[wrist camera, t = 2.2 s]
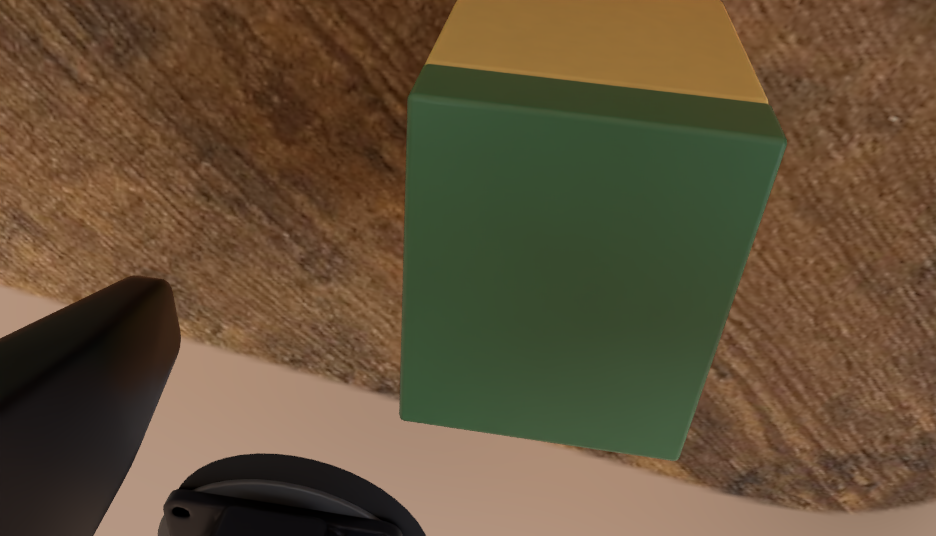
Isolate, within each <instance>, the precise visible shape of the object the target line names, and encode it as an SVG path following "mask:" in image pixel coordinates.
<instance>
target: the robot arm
mask: <svg viewBox="0 0 936 536" xmlns="http://www.w3.org/2000/svg"><path fill="white" fill-rule="evenodd" d="M180 342H181V334H180V328H179V322H178V317H177V312H176V307H175V302H174V296H173V291H172V288H171V286H170V284H169V283H168V282H167V281H165V280H163V279H159V278H152V277H145V276H129V277H127V278H125V279H123V280H120V281H118V282H116V283H114V284H112V285H110V286H108V287H106V288H104V289H102V290H100V291H98V292H96V293H94V294H91V295H89V296H87V297H85V298H83V299H81V300H79V301H77V302H75V303H73V304H71V305H69V306H67V307H64V308H63V309H60V310H58V311H56V312H54V313H52V314H50V315H48V316H46V317H44V318H42V319H40V320H38V321H36V322H34V323H31V324H29V325H27V326H25V327H23V328H21V329H19V330H17V331H15V332H13V333H11V334H9V335H6V336H5V337H2V338H0V536H93V535H94V533H95V531H96V529H97V528H98V526H99V524H100V522H101V521H102V519H103V517H104V515H105V513H106V512H107V510H108V508H109V506H110V504H111V503H112V501H113V499H114V497H115V495H116V493H117V492H118V490H119V488H120V486H121V484H122V483H123V481H124V479H125V477H126V475H127V473H128V471H129V469H130V467H131V465H132V463H133V461H134V459H135V456H136V454H137V452H138V449H139V447H140V445H141V443H142V440H143V438H144V435H145V432H146V430H147V428H148V425H149V423H150V421H151V418H152V416H153V413H154V411H155V408H156V406H157V404H158V401H159V399H160V396H161V394H162V392H163V389H164V387H165V384H166V382H167V379H168V377H169V374H170V372H171V370H172V367H173V365H174V362H175V360H176V358H177V355H178V352H179V348H180ZM163 510H164V514H165V518H166V522H167V526H168V530H169V534H170V536H402V533H401V530H400V529H399V528H398V527H397V526H396V525H394V524H392V523H390V522H386V521H381V520H375V519H369V518H362V517H356V516H350V515H344V514H337V513H331V512H325V511H318V510H312V509H306V508H300V507H293V506H287V505H281V504H274V503H268V502H262V501H256V500H249V499H243V498H237V497H230V496H224V495H218V494H212V493H205V492H199V491H193V490H187V489H177V490H174V491H172V493H171V494H170V495H169V497H168V499H167V501H166V503H165V504H164V509H163Z"/></svg>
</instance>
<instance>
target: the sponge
mask: <svg viewBox="0 0 936 536" xmlns="http://www.w3.org/2000/svg"><path fill="white" fill-rule="evenodd" d="M786 146H787V139H786V137H785V134H784V132H783V130H782V128H781V126H780V124H779V122H778V119H777V117H776V115H775V113H774V111H773V109H772V106H770V105H769V104H768V99H767V97H766V95H765V93H764V91H763V88H762V86H761V84H760V82H759V80H758V78H757V75H756V73H755V71H754V69H753V67H752V65H751V62H750V60H749V58H748V56H747V54H746V52H745V49H744V47H743V45H742V43H741V41H740V39H739V36H738V34H737V32H736V30H735V28H734V26H733V23H732V21H731V19H730V17H729V15H728V13H727V10H726V8H725V6H724V4H723V2H721V1H719V0H457V1H456V3H455V5H454V7H453V9H452V11H451V13H450V15H449V17H448V19H447V21H446V23H445V25H444V27H443V29H442V31H441V33H440V35H439V37H438V39H437V41H436V43H435V45H434V47H433V49H432V51H431V53H430V55H429V57H428V59H427V61H426V63H425V65H424V66H423V68H422V70H421V72H420V74H419V76H418V78H417V80H416V82H415V84H414V86H413V88H412V90H411V92H410V94H409V96H408V99H407V138H406V177H405V216H404V254H403V293H402V332H401V371H400V410H399V411H400V412H399V414H400V418H401V419H402V420H404V421H411V422H417V423H424V424H430V425H437V426H444V427H450V428H457V429H464V430H470V431H478V432H484V433H491V434H497V435H504V436H510V437H517V438H524V439H530V440H537V441H544V442H550V443H557V444H564V445H570V446H577V447H584V448H590V449H597V450H604V451H610V452H617V453H624V454H630V455H637V456H644V457H650V458H657V459H664V460H670V461H676V460H678V459H679V457H680V454H681V451H682V448H683V445H684V442H685V439H686V437H687V434H688V431H689V428H690V425H691V422H692V419H693V416H694V413H695V410H696V407H697V405H698V402H699V399H700V396H701V393H702V390H703V387H704V384H705V381H706V378H707V375H708V373H709V370H710V367H711V364H712V361H713V358H714V355H715V352H716V349H717V346H718V343H719V341H720V338H721V335H722V332H723V329H724V326H725V323H726V320H727V317H728V314H729V311H730V309H731V306H732V303H733V300H734V297H735V294H736V291H737V288H738V285H739V282H740V279H741V277H742V274H743V271H744V268H745V265H746V262H747V259H748V256H749V253H750V250H751V247H752V245H753V242H754V239H755V236H756V233H757V230H758V227H759V224H760V221H761V218H762V216H763V213H764V210H765V207H766V204H767V201H768V198H769V195H770V192H771V189H772V186H773V184H774V181H775V178H776V175H777V172H778V169H779V166H780V163H781V160H782V157H783V154H784V152H785V149H786Z"/></svg>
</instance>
